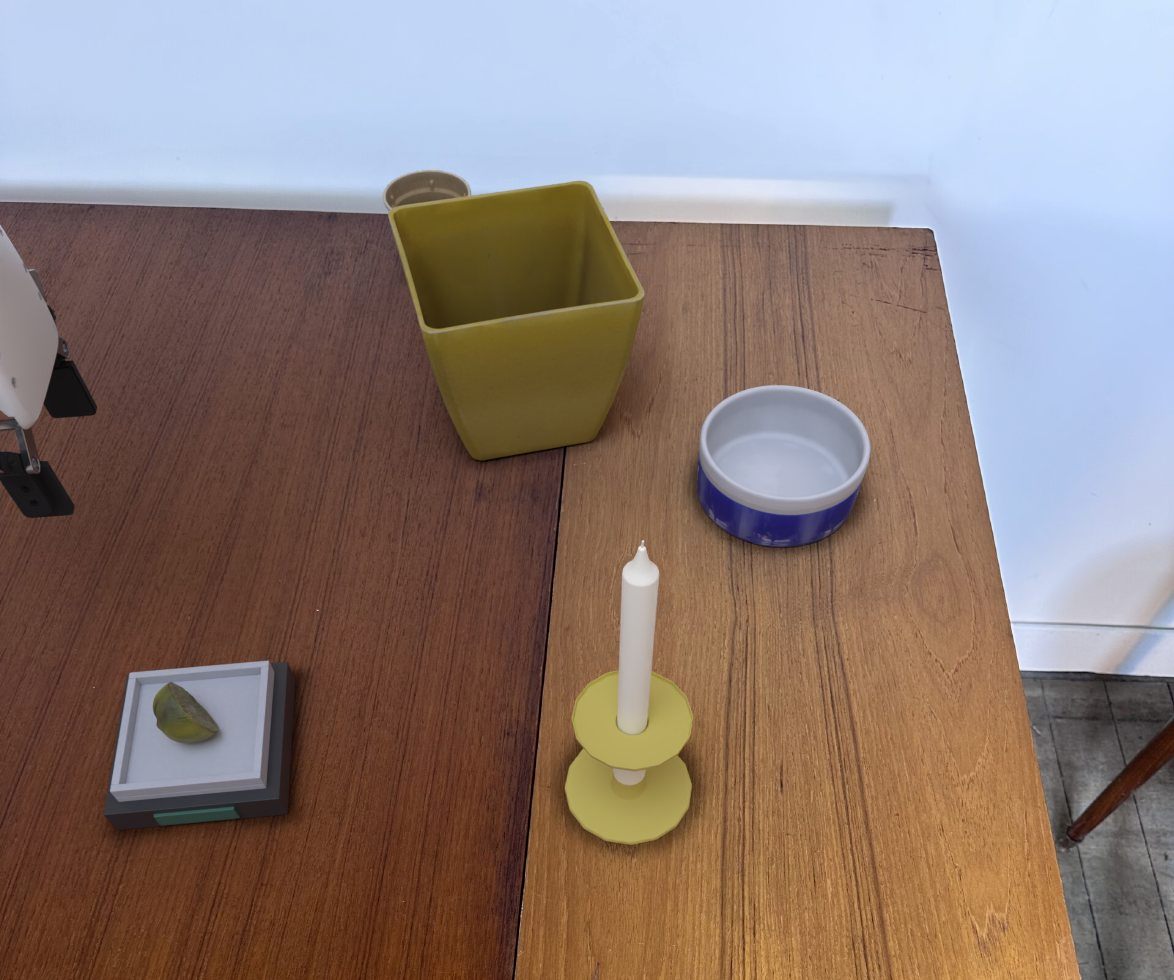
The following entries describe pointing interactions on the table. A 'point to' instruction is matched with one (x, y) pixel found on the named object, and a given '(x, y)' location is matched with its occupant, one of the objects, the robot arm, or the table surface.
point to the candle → (631, 731)
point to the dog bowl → (781, 465)
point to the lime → (182, 715)
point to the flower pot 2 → (521, 312)
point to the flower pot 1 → (424, 188)
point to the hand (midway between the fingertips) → (63, 462)
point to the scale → (205, 748)
